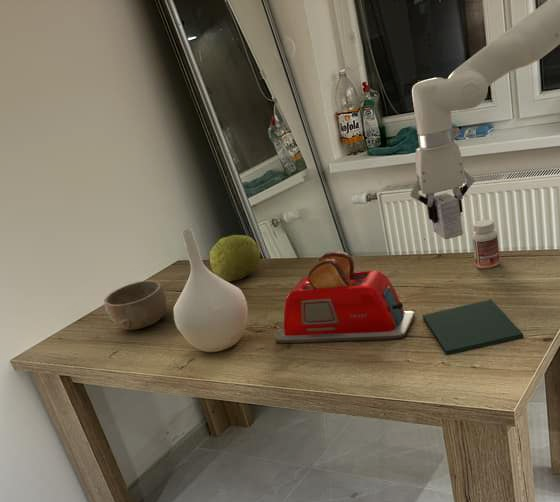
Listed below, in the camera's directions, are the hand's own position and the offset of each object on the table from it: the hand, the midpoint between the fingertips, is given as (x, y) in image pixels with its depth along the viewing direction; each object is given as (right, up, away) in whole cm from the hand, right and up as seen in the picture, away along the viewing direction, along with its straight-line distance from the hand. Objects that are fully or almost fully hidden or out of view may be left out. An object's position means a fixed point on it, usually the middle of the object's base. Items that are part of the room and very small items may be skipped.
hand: (445, 218), depth 158 cm
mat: (+3, -26, -9) cm, 28 cm away
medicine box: (+1, -3, +2) cm, 4 cm away
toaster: (-23, -26, +5) cm, 35 cm away
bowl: (-78, -22, +41) cm, 91 cm away
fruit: (-51, -6, +58) cm, 77 cm away
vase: (-54, -29, +14) cm, 63 cm away
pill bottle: (+16, -8, +20) cm, 27 cm away
